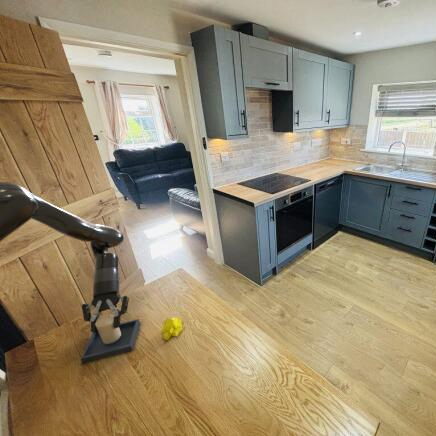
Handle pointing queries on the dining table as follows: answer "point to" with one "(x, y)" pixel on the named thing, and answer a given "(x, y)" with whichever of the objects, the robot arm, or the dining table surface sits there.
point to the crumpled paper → (171, 328)
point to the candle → (107, 329)
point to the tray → (122, 345)
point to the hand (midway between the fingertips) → (105, 330)
